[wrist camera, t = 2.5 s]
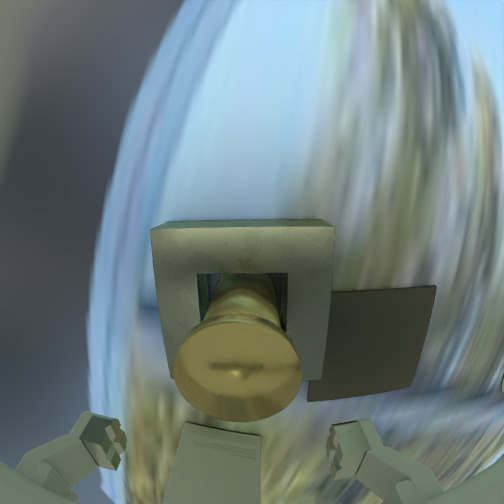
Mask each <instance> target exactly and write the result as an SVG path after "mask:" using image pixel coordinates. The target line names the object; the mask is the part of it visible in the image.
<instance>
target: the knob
mask: <svg viewBox="0 0 504 504" xmlns="http://www.w3.org/2000/svg"><path fill="white" fill-rule="evenodd" d="M173 373H174V379H175V383H176V385H177V388H178V390H179V391H180V393H181V394H182V396H183V397H184V398H185V399H186V400H187V401H188V402H189V403H190V404H191V405H192V406H193V407H195V408H196V409H197V410H199V411H201V412H202V413H204V414H206V415H209V416H211V417H214V418H217V419H220V420H224V421H231V422H251V421H257V420H262V419H265V418H268V417H270V416H272V415H275V414H276V413H278V412H280V411H281V410H283V409H284V408H285V407H287V406H288V405H289V404H290V403H291V402H292V400H293V399H294V398H295V396H296V395H297V393H298V391H299V388H300V385H301V380H302V371H301V366H300V361H299V357H298V353H297V350H296V347H295V345H294V343H293V341H292V340H291V338H290V337H289V336H288V334H287V333H286V332H285V331H284V330H283V329H281V325H280V319H279V313H278V307H277V302H276V296H275V290H274V286H273V283H272V281H271V279H270V278H269V276H268V275H267V274H266V273H224V274H223V275H222V276H221V278H220V279H219V281H218V283H217V286H216V288H215V291H214V294H213V296H212V299H211V301H210V304H209V307H208V309H207V312H206V315H205V317H204V320H203V321H202V322H200V323H199V324H197V325H196V326H195V327H193V328H192V329H191V330H190V331H189V332H188V334H187V335H186V336H185V338H184V340H183V342H182V344H181V346H180V349H179V351H178V353H177V355H176V358H175V361H174V367H173Z"/></svg>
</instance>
